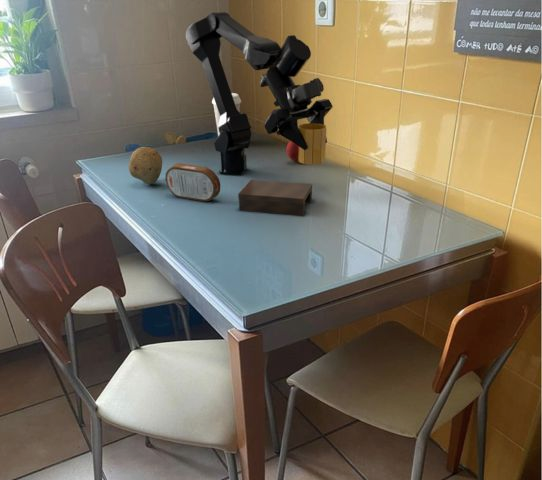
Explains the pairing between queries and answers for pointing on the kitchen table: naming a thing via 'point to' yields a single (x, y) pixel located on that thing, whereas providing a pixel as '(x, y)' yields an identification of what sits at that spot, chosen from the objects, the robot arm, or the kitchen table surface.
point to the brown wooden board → (275, 197)
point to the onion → (292, 151)
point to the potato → (145, 165)
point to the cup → (313, 143)
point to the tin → (193, 182)
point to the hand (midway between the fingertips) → (316, 146)
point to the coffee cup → (217, 115)
